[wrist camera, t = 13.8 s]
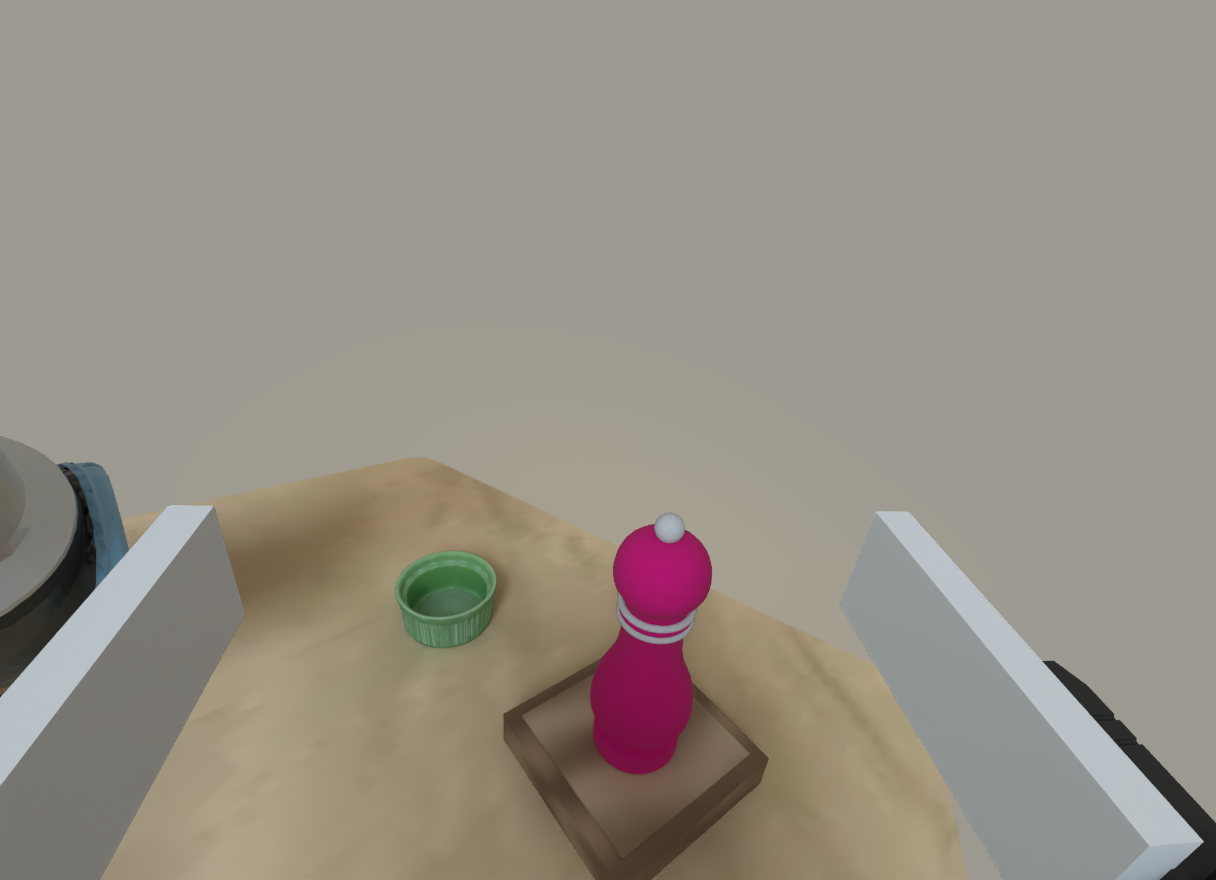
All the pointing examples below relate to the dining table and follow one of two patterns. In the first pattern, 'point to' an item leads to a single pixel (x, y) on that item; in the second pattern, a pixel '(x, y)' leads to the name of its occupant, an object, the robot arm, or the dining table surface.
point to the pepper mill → (649, 647)
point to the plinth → (629, 780)
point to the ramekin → (446, 598)
